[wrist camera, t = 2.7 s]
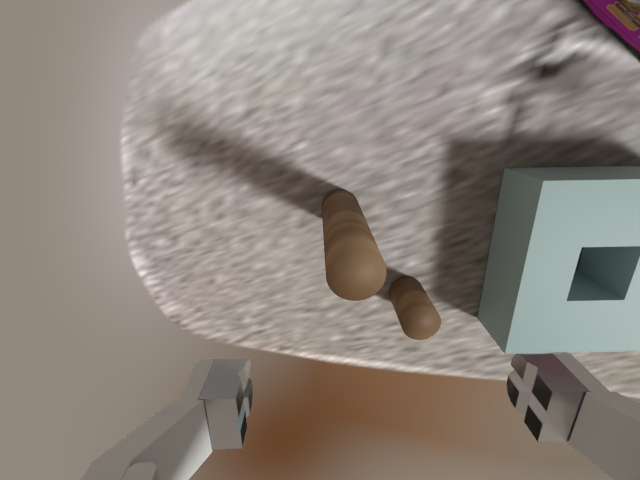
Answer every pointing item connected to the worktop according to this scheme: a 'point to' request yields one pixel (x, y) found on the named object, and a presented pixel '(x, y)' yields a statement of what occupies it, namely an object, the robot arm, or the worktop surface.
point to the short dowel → (414, 308)
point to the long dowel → (350, 249)
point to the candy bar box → (619, 19)
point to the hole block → (565, 261)
